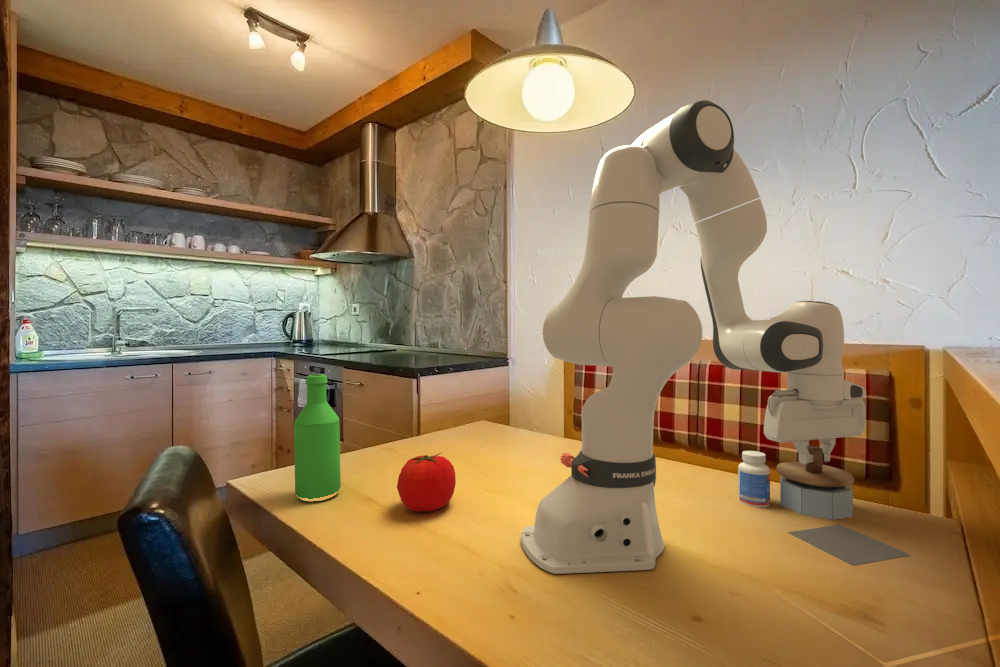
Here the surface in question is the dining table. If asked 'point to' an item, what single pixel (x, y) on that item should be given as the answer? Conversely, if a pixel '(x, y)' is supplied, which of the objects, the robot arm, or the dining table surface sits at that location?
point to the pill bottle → (754, 480)
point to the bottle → (317, 444)
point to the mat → (848, 544)
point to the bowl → (816, 499)
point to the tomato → (426, 483)
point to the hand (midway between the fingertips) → (814, 462)
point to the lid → (815, 471)
